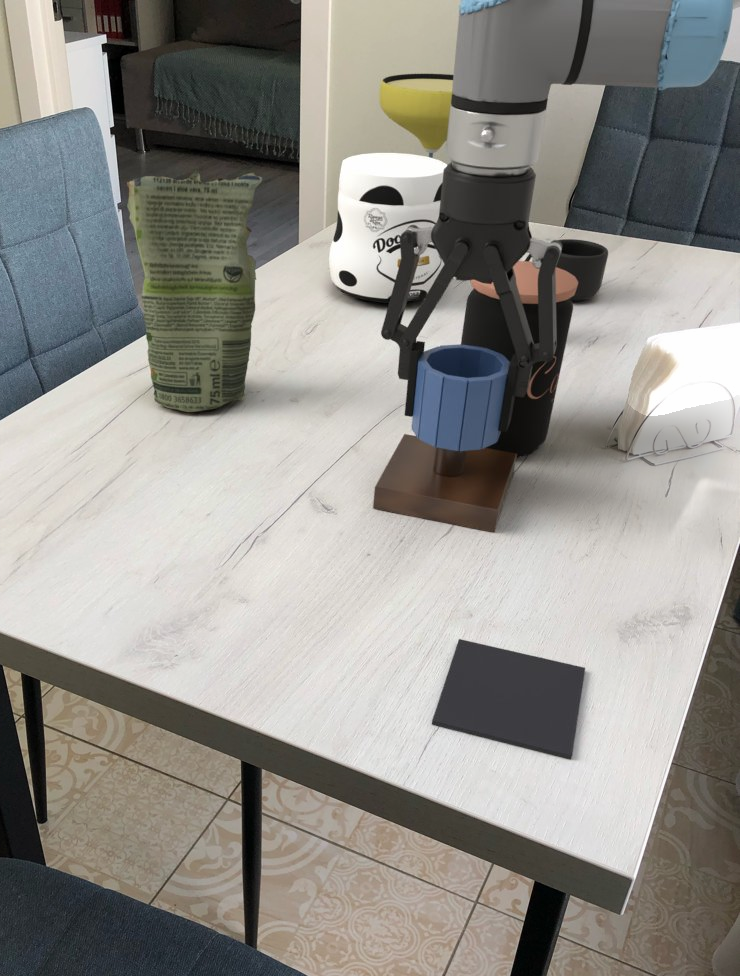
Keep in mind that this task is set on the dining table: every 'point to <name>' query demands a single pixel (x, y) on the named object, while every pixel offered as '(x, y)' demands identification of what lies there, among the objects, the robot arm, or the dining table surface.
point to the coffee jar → (492, 333)
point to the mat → (511, 698)
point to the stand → (446, 484)
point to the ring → (459, 397)
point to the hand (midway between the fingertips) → (457, 417)
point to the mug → (583, 265)
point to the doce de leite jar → (384, 223)
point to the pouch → (196, 286)
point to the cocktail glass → (419, 105)
